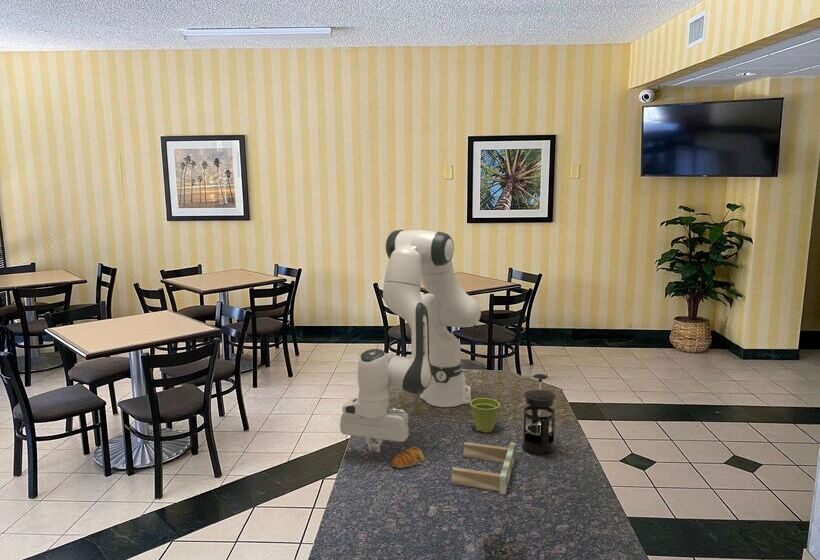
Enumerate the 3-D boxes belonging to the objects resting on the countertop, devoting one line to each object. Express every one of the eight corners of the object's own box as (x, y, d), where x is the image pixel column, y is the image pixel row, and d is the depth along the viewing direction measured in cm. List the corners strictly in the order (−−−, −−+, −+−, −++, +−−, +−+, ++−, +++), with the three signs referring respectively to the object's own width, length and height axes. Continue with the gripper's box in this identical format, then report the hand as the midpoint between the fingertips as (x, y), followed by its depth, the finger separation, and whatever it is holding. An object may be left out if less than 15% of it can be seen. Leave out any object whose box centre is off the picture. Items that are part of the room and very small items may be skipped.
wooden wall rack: (465, 452, 176) (465, 436, 175) (515, 458, 172) (515, 442, 171) (450, 486, 157) (450, 469, 156) (505, 494, 153) (505, 476, 152)
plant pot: (493, 421, 198) (493, 396, 196) (503, 433, 188) (504, 407, 187) (466, 424, 196) (466, 399, 194) (475, 436, 187) (475, 410, 185)
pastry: (401, 473, 164) (401, 460, 164) (386, 464, 170) (385, 452, 169) (426, 462, 171) (426, 450, 170) (410, 454, 176) (410, 442, 175)
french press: (517, 441, 183) (519, 369, 179) (547, 439, 184) (550, 368, 179) (529, 459, 171) (531, 383, 167) (560, 457, 172) (563, 382, 168)
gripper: (411, 405, 171) (412, 450, 173) (345, 398, 177) (346, 442, 179) (405, 414, 165) (405, 460, 167) (336, 406, 171) (338, 451, 173)
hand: (374, 451), depth 173 cm, fingers closed
